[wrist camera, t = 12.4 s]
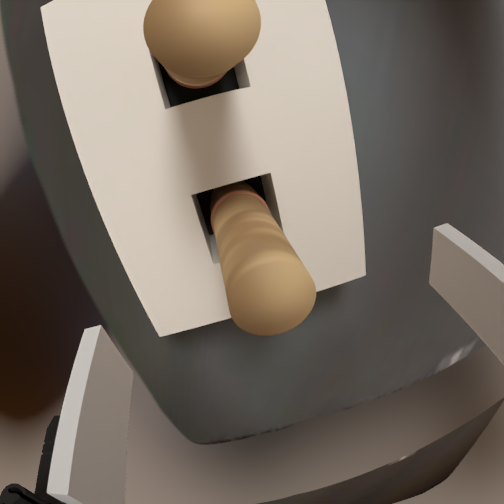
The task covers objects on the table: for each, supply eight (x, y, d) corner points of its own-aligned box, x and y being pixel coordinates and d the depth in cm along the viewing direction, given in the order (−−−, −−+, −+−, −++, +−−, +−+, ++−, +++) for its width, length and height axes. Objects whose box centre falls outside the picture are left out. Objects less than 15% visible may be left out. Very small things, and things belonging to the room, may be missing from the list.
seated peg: (216, 35, 18) (249, -37, 7) (228, 82, 20) (276, 64, 8) (164, 49, 18) (129, -10, 6) (177, 96, 19) (155, 94, 8)
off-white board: (285, -37, 16) (305, -60, 12) (342, 248, 27) (365, 275, 23) (66, 20, 15) (40, 7, 11) (162, 301, 27) (159, 337, 23)
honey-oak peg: (250, 167, 23) (312, 248, 11) (260, 212, 24) (322, 321, 13) (201, 181, 23) (214, 277, 11) (214, 225, 24) (239, 347, 13)
